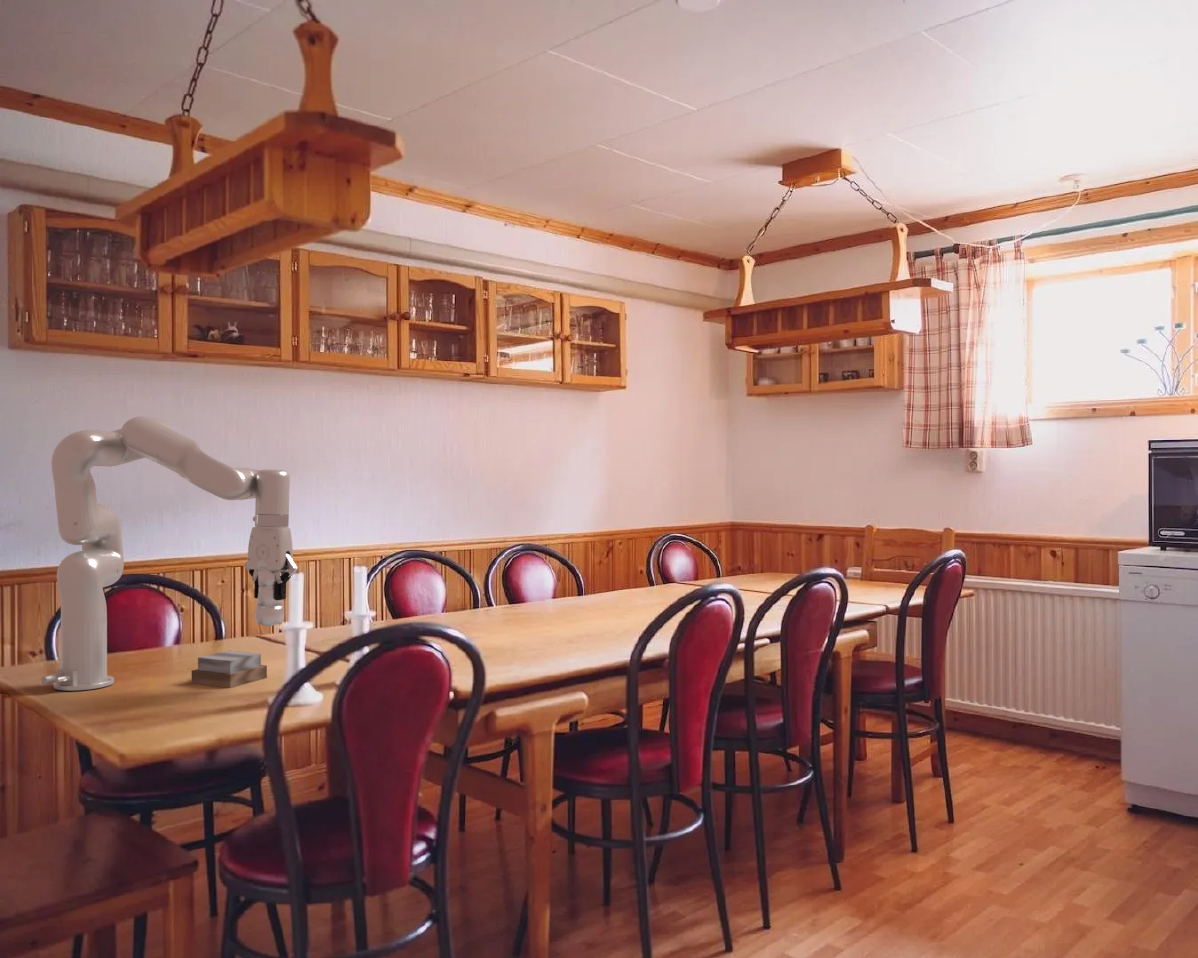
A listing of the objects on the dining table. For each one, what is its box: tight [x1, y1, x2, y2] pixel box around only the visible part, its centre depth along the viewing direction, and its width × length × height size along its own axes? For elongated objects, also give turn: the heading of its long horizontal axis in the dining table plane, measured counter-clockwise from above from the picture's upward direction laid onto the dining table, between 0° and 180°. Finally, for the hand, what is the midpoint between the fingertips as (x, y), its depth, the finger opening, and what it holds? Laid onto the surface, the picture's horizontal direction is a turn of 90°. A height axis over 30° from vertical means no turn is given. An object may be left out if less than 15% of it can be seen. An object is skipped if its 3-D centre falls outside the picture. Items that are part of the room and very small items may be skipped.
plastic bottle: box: [254, 559, 286, 627], centre depth 226 cm, size 6×7×20 cm
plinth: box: [191, 650, 268, 689], centre depth 232 cm, size 12×12×6 cm
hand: (270, 597), depth 226 cm, fingers closed on plastic bottle, 5 cm apart
